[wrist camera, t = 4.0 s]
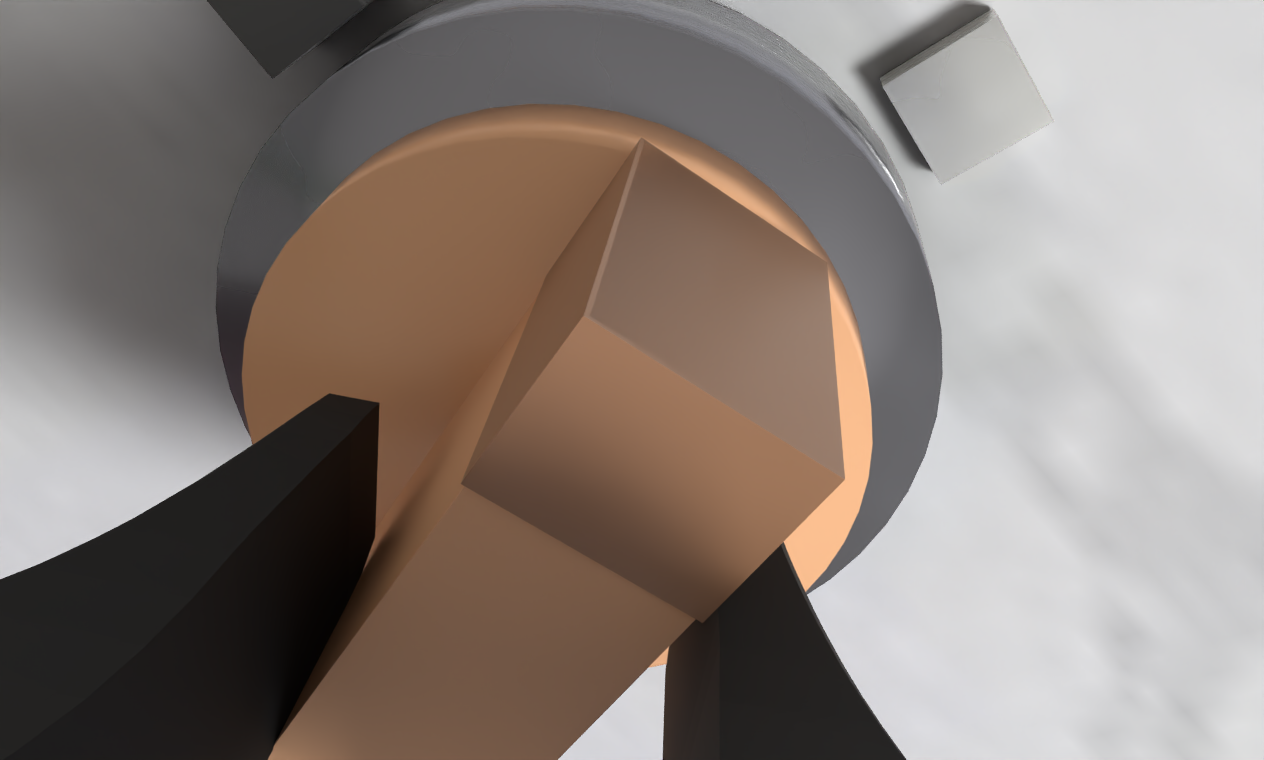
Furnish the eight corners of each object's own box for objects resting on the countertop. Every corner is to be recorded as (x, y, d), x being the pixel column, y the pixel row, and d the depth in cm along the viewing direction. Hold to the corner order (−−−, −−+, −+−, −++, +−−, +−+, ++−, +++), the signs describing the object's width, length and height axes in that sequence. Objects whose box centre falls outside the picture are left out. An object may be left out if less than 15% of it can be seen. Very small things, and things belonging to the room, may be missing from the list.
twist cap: (648, 690, 18) (604, 1017, 13) (194, 438, 16) (-28, 715, 12) (999, 340, 14) (1101, 639, 10) (446, -37, 12) (256, 112, 8)
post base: (535, 641, 21) (513, 724, 19) (40, 115, 16) (-46, 163, 15) (1173, 347, 16) (1219, 422, 15) (726, -490, 12) (717, -523, 10)
